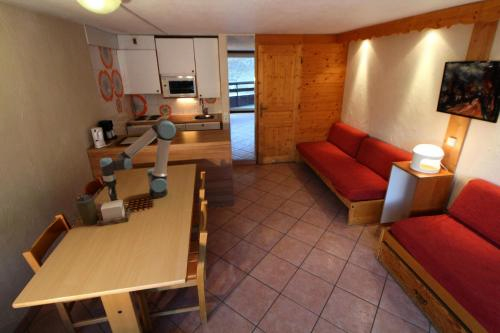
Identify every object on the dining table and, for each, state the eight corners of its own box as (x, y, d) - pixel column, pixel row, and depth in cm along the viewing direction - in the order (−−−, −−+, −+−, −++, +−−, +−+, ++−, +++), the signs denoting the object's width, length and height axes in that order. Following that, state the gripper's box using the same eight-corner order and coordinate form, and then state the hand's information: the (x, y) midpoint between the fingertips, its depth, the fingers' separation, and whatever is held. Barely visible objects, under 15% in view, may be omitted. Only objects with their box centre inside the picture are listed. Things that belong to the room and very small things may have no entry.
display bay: (130, 211, 185) (129, 207, 184) (128, 221, 173) (127, 217, 171) (102, 215, 180) (101, 211, 179) (98, 226, 167) (97, 222, 166)
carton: (125, 212, 183) (122, 199, 179) (123, 219, 174) (120, 206, 170) (106, 215, 179) (103, 202, 175) (104, 223, 171) (100, 209, 167)
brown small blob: (105, 207, 190) (104, 200, 188) (104, 211, 185) (102, 204, 183) (96, 208, 189) (95, 201, 186) (95, 212, 183) (93, 205, 181)
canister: (91, 226, 168) (84, 200, 160) (78, 224, 170) (70, 198, 162) (103, 217, 178) (96, 192, 170) (90, 215, 180) (83, 190, 172)
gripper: (105, 176, 180) (112, 205, 189) (101, 184, 169) (108, 214, 177) (117, 175, 182) (123, 203, 191) (114, 182, 171) (120, 212, 179)
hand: (116, 208), depth 184 cm, fingers closed
